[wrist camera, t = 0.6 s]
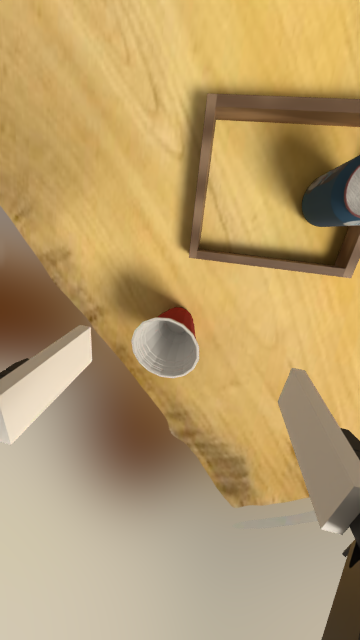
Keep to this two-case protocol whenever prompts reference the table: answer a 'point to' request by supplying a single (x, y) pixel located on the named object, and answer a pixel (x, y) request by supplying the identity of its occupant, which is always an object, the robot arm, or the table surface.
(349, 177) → the soda can
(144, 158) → the table surface
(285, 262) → the walnut tray frame
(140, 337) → the plastic cup
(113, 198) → the table surface
